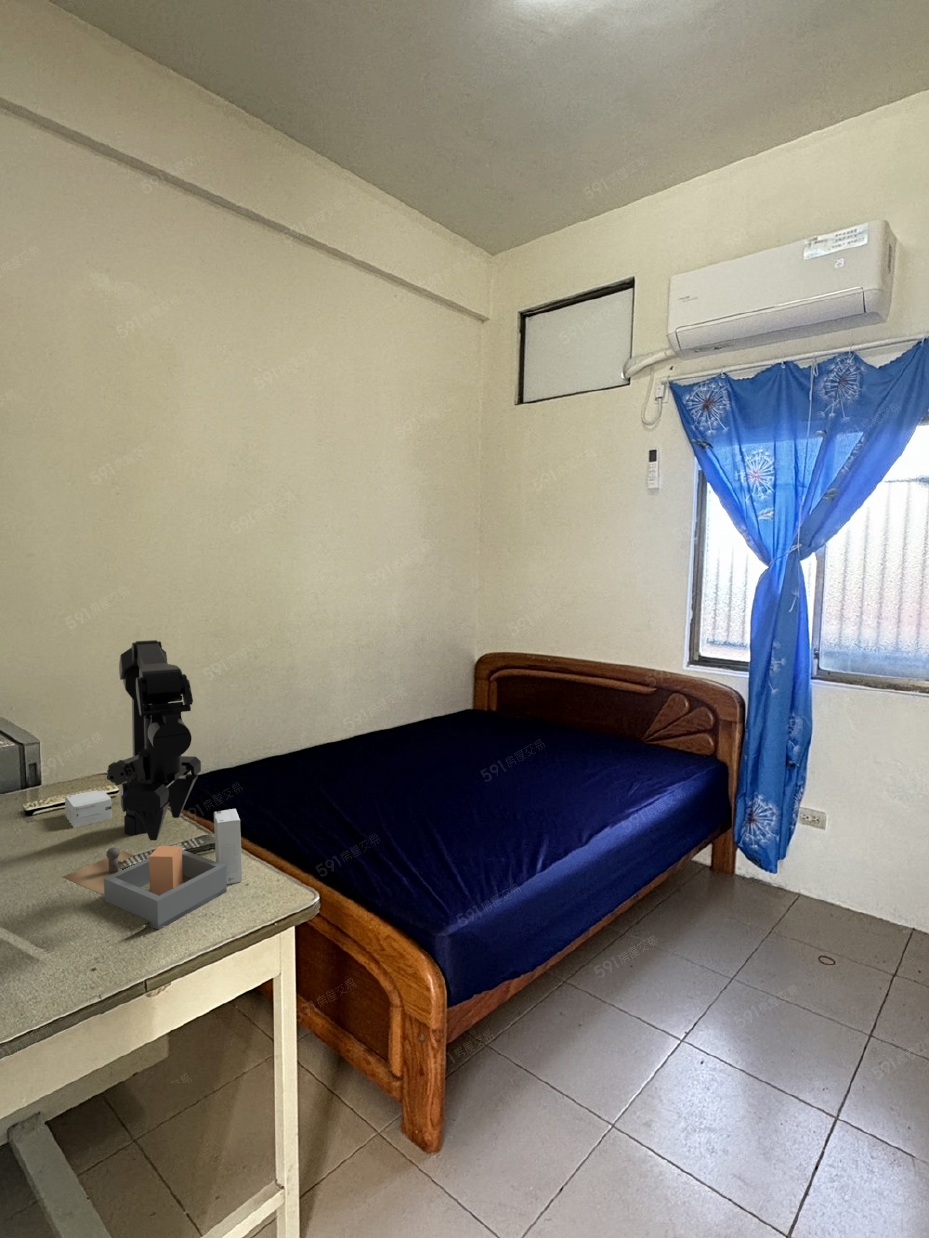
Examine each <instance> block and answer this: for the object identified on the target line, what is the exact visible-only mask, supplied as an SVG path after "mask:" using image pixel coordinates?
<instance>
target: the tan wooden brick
mask: <svg viewBox="0 0 929 1238" xmlns="http://www.w3.org/2000/svg"><path fill="white" fill-rule="evenodd" d="M182 850H183V846H182V845H158V846H157V848H155V849H154V850H153V852H152V853H151V854H150V855H148V858H149V874H150V883H149V892H151V893H154V894H156V895H159V896H160V895H162V894H163V893H165V892H167V891H169V890H171V889H173V888H175V887H177V886H179V885H181V884H183V883H184V880H183V878H184V877H183V875H182Z"/></svg>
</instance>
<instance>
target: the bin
mask: <svg viewBox="0 0 929 1238" xmlns="http://www.w3.org/2000/svg"><path fill="white" fill-rule="evenodd" d="M182 876H184V877H187V878H190V879H189V880H187V881H186V882H183V884H181V885H179V886H177V887H175V888H173V889H171V890H169V891H167V892H165V893H163V894H162V895H160V896H159V895H156V894H154V893H151V892H150V890H146V889H144V888H142V887H144V886H147V885H148V884H150V874H149V857H148V858H146V859H145V860H144V861H141V862H139V863H137V864H135V865H132V866H130V867H128V868H126V869H124V870H121V871H119V872H117V873H115V874H112V875H110V876H108V877H106V878H104V896H103V897H104V900H103V901H104V902H106V903H108V904H112V905H113V906H115V907H117V908H119V909H122V910H123V911H126V912H128V913H131V914H133V915H135V916H138V917H140V918H142V919H145V920H146V921H147V922H146V923H145V925H146V926H148V927H150V926H152V927H153V928H152V927H151V928H152V929H154V928H156V929H155V930H157V929H158V930H157V931H159V929H160V928H161V929H163V928H164V927H163V926H165V927H167V926H168V925H170V924H172V923H174V922H176V921H177V920H179V919H181V918H183V917H184V916H186V915H188V914H190V913H191V912H193V911H195V910H197V909H199V908H200V907H202V906H204V905H206V904H208V903H209V902H211V901H213V900H214V899H216V898H218V897H220V896H222V895H223V894H225V893H227V889H228V887H227V885H226V865H224V864H221V863H218V862H216V860H215V861H214V860H213V859H209V858H206V857H203V856H201V855H199V854H195V853H193V852H190V851H187V850H184V849H182ZM187 913H188V914H187ZM185 914H186V915H185ZM166 925H167V926H166ZM162 927H163V928H162ZM161 929H160V930H161Z"/></svg>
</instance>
